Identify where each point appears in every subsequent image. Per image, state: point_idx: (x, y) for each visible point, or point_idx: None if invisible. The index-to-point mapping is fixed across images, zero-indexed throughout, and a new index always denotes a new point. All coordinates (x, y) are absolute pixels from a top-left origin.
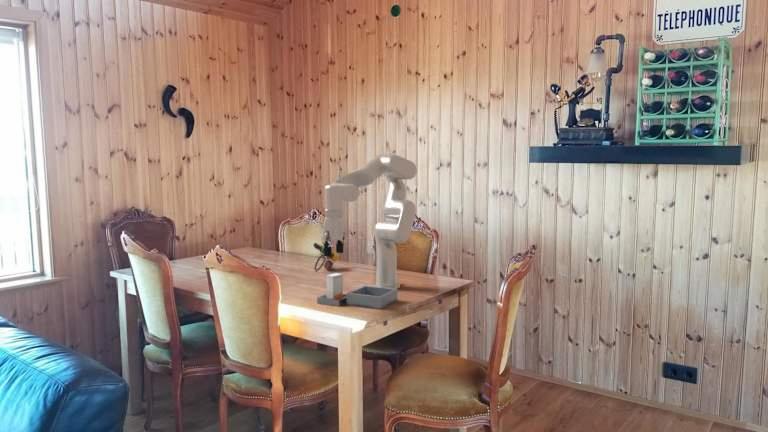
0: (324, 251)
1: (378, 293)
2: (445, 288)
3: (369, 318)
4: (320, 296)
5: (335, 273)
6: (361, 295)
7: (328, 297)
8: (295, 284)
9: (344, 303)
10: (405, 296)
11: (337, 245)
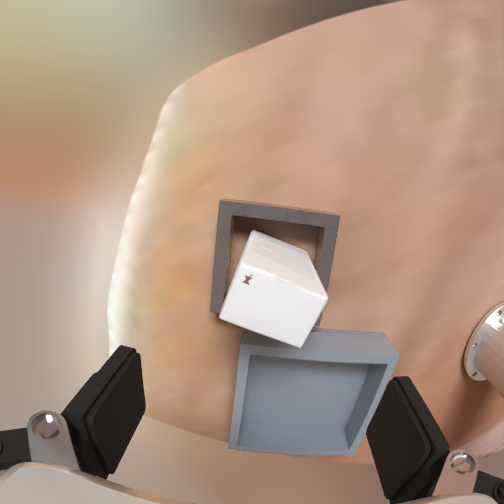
0: (101, 373)
1: (364, 395)
2: (469, 448)
3: None
4: (247, 204)
5: (308, 300)
6: (234, 397)
7: (244, 247)
8: (459, 19)
9: None
10: None
11: (410, 448)
